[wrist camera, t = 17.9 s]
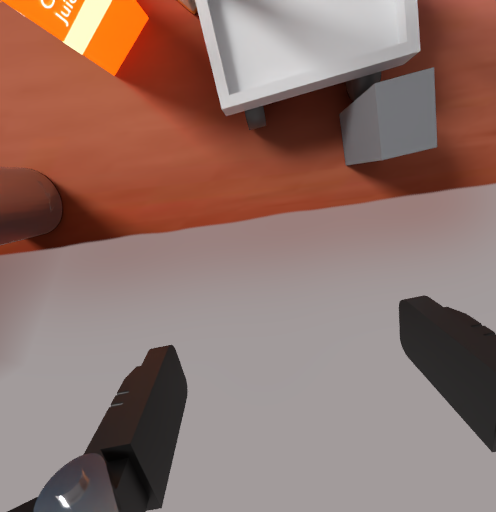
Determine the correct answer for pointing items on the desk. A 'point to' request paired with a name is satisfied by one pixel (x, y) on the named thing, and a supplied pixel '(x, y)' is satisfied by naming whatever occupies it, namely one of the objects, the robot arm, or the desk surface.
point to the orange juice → (89, 26)
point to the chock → (391, 119)
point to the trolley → (302, 47)
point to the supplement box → (189, 5)
